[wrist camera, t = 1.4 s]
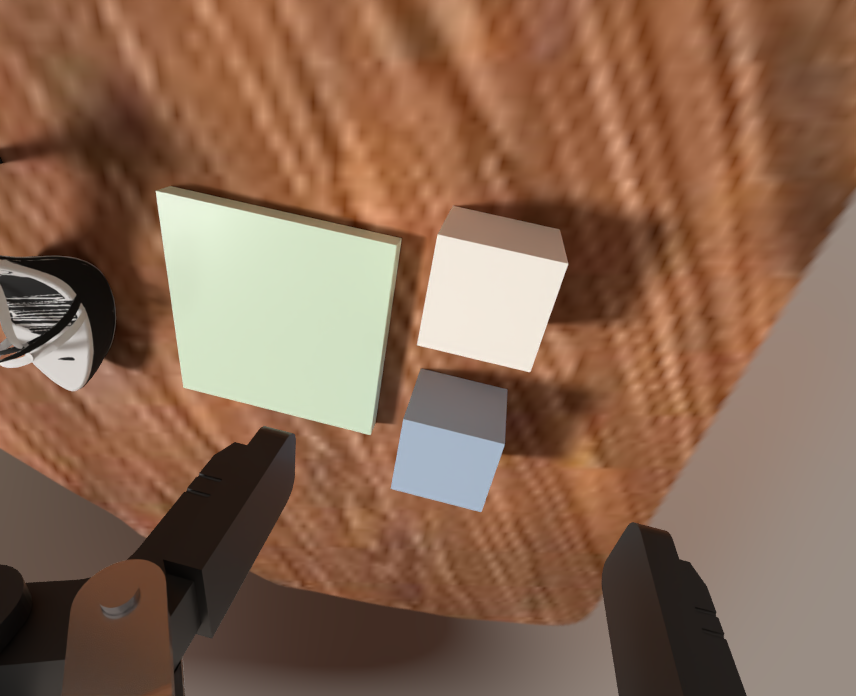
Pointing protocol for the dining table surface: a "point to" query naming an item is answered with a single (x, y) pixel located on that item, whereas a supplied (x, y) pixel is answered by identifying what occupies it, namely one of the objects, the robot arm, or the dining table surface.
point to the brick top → (451, 440)
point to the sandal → (56, 316)
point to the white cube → (492, 287)
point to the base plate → (279, 306)
